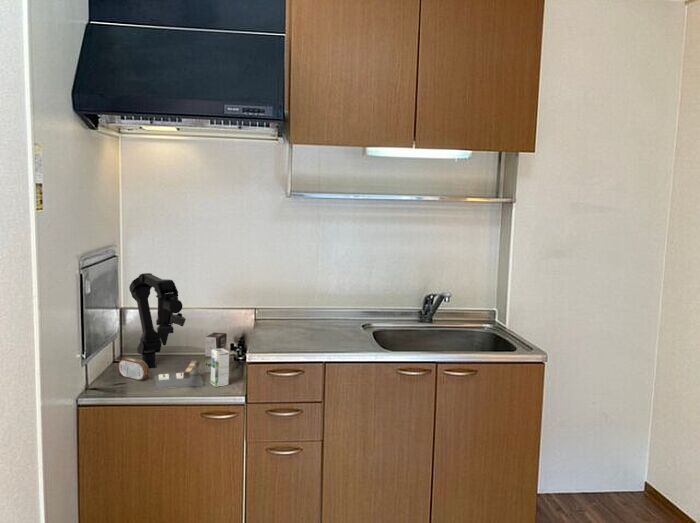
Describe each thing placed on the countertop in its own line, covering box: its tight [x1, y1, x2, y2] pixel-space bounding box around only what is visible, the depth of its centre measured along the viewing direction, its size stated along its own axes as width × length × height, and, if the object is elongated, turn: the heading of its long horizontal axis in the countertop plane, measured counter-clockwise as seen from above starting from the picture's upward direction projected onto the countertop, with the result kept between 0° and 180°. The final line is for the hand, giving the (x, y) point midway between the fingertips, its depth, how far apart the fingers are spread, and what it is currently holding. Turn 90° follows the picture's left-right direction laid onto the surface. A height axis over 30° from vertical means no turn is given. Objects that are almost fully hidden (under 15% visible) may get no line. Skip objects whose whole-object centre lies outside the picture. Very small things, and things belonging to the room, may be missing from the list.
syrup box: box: [210, 349, 230, 388], centre depth 230 cm, size 6×6×14 cm
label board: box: [154, 366, 204, 389], centre depth 231 cm, size 14×18×5 cm
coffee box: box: [204, 332, 228, 373], centre depth 249 cm, size 9×6×16 cm
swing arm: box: [183, 358, 200, 379], centre depth 229 cm, size 20×4×2 cm, turn 5°
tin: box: [118, 356, 150, 381], centre depth 233 cm, size 15×3×8 cm, turn 65°
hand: (164, 345), depth 239 cm, fingers closed
